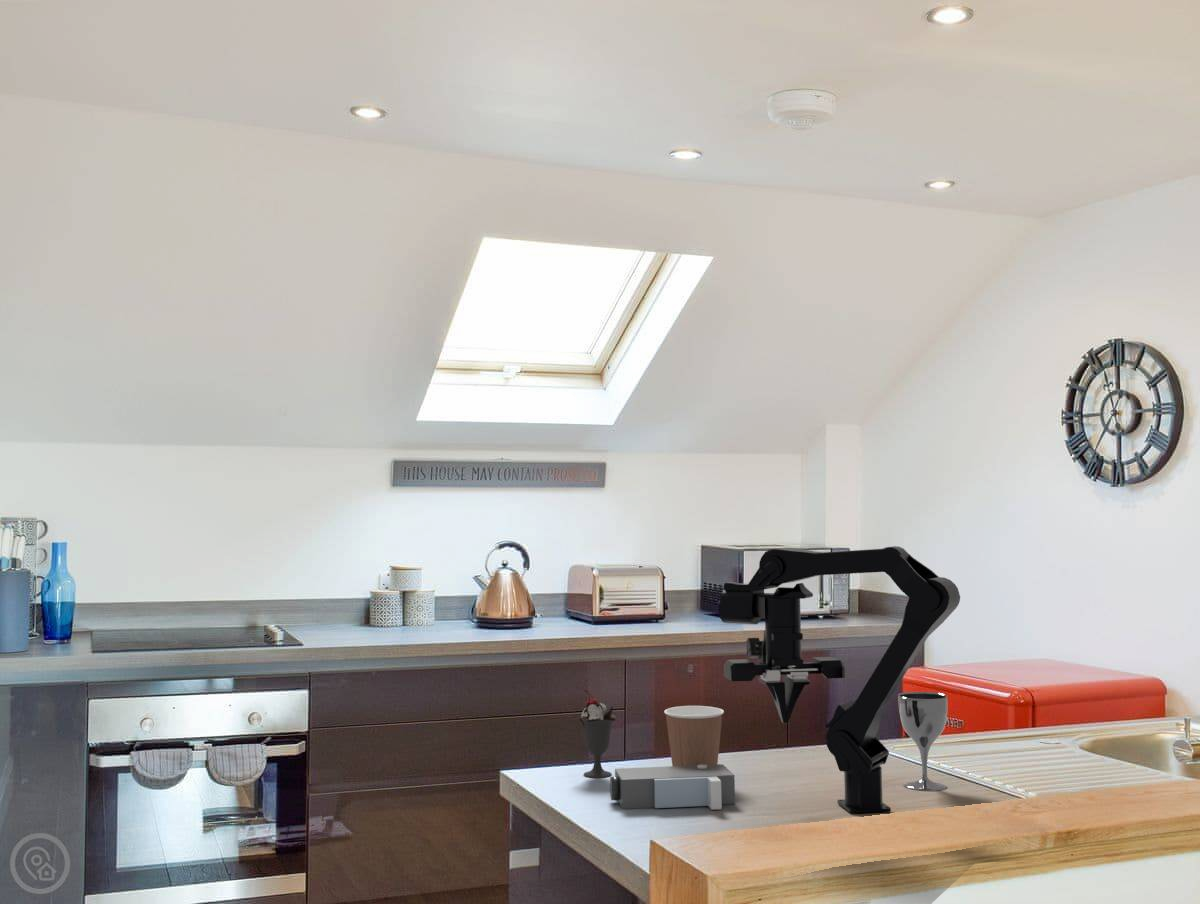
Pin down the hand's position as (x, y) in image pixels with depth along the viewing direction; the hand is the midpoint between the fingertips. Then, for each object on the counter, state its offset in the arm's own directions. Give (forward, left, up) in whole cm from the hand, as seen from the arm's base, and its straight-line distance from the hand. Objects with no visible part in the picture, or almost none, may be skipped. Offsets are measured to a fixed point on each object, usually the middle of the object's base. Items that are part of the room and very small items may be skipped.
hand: (784, 722), depth 187 cm
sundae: (+22, +28, -12) cm, 38 cm away
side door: (-4, +17, -12) cm, 21 cm away
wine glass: (+4, -25, -12) cm, 28 cm away
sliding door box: (+2, +18, -12) cm, 22 cm away
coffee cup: (+14, +12, -12) cm, 22 cm away
